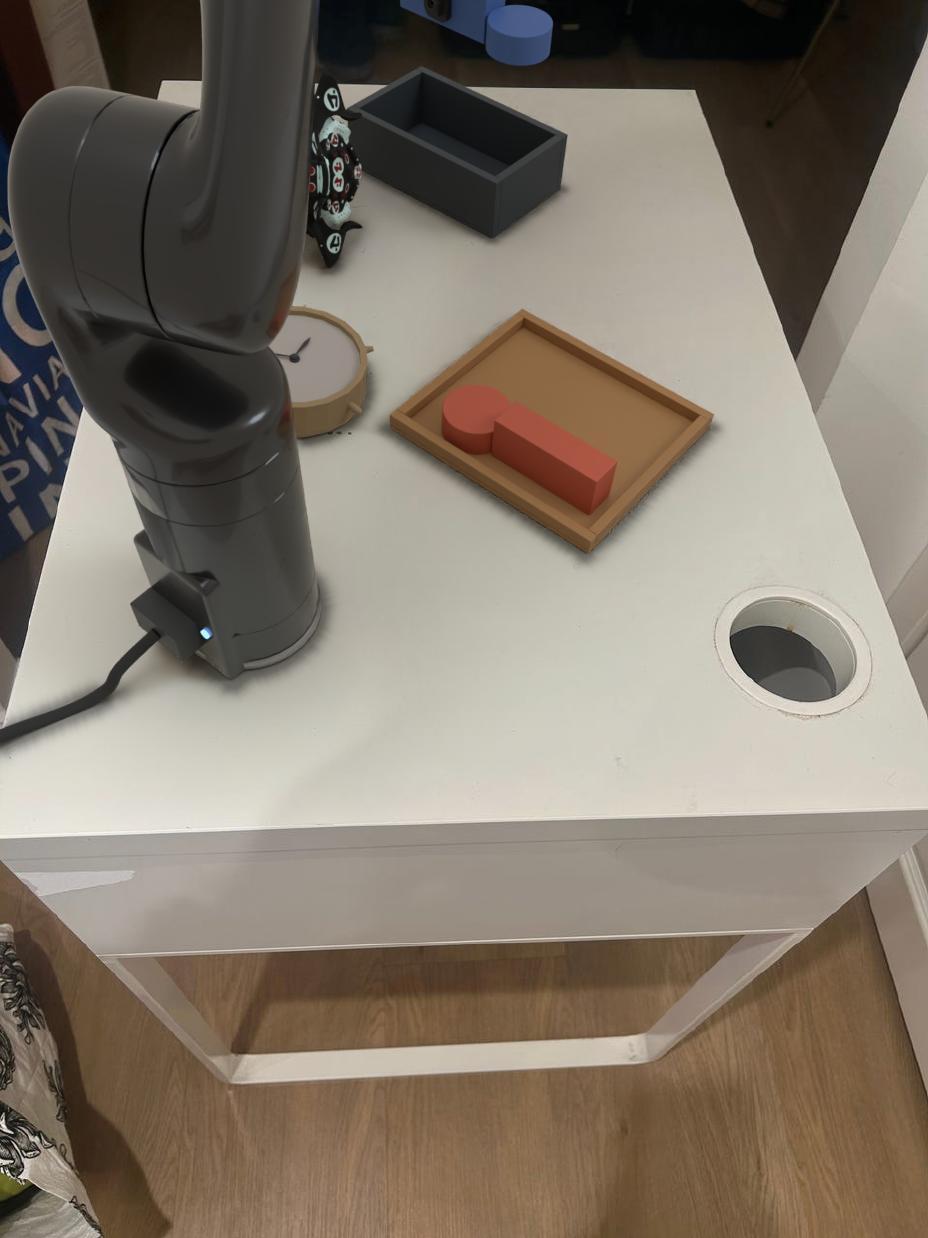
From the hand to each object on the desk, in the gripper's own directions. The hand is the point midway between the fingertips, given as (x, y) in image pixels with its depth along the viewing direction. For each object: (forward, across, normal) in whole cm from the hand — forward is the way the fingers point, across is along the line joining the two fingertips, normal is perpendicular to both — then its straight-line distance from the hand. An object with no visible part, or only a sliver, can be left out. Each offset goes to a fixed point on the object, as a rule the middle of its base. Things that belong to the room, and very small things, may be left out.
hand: (450, 10), depth 80 cm
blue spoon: (+1, 0, +2) cm, 2 cm away
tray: (+15, +20, +27) cm, 37 cm away
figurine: (+15, +16, -5) cm, 23 cm away
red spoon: (+15, +24, +28) cm, 40 cm away
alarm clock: (+15, +31, +8) cm, 35 cm away
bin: (+15, -1, 0) cm, 15 cm away
